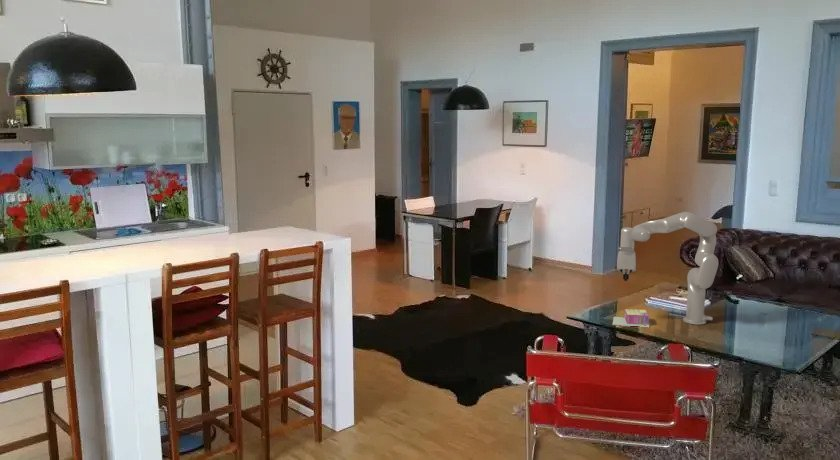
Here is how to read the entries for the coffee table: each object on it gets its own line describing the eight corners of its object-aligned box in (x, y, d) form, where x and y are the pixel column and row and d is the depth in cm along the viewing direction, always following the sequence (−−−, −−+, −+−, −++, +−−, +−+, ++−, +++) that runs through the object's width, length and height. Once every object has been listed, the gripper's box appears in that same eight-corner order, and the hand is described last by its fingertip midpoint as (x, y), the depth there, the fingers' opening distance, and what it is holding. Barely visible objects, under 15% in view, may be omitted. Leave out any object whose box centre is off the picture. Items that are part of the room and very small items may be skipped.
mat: (649, 320, 393) (649, 319, 393) (649, 328, 380) (649, 327, 380) (613, 317, 399) (613, 316, 399) (612, 324, 386) (612, 323, 386)
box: (627, 324, 386) (648, 324, 384) (627, 314, 385) (648, 315, 383) (624, 318, 396) (645, 319, 394) (624, 309, 395) (645, 309, 393)
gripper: (613, 249, 381) (611, 281, 385) (640, 251, 377) (639, 283, 380) (613, 247, 388) (612, 277, 392) (641, 248, 384) (639, 279, 387)
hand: (625, 280), depth 386 cm, fingers closed
